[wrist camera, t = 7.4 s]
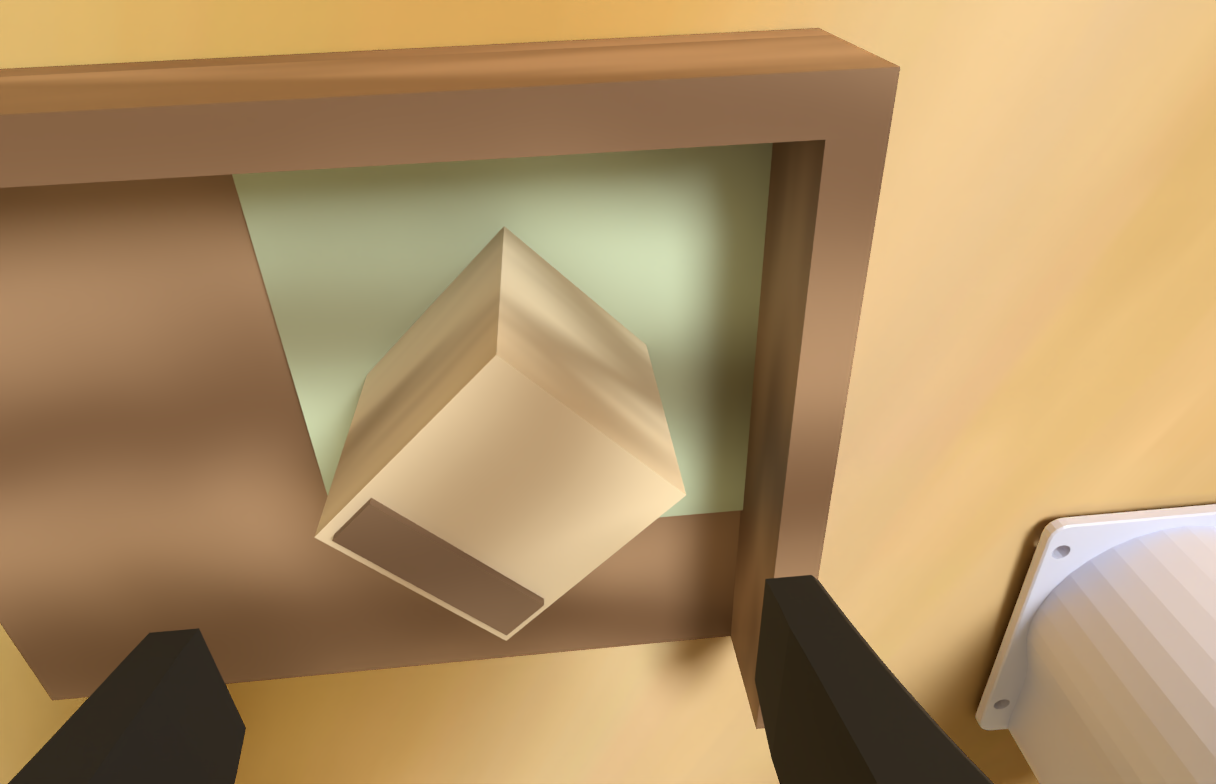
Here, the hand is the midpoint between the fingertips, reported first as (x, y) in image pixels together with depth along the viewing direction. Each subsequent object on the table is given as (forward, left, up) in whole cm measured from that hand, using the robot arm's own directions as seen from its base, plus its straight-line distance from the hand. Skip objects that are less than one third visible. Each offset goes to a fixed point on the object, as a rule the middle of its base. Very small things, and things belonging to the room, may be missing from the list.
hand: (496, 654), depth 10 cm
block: (0, 0, -8) cm, 8 cm away
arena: (-2, +4, -9) cm, 10 cm away
